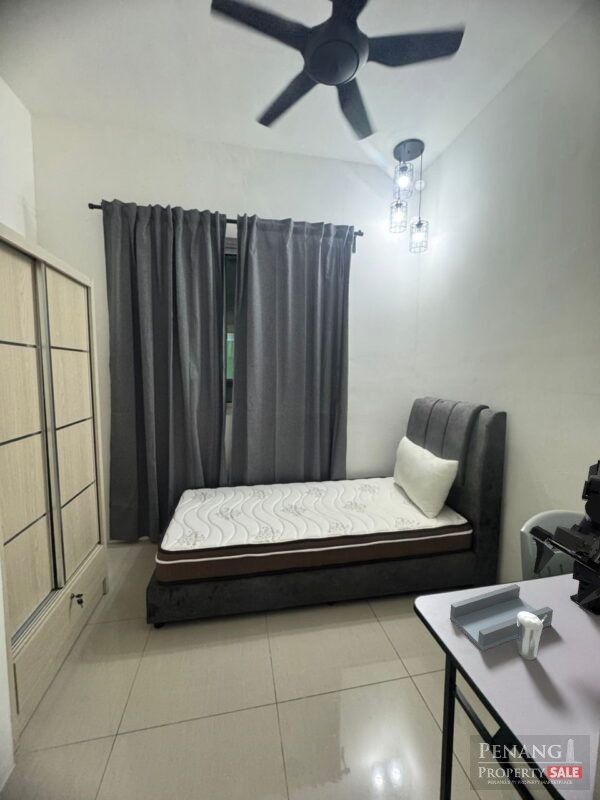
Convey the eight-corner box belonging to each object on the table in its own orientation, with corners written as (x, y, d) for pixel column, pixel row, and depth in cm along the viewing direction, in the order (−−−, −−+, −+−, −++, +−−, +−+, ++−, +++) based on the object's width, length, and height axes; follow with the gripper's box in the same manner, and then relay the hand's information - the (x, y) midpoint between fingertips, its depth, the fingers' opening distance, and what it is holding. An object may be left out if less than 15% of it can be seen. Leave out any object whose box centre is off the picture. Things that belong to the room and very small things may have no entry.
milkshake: (547, 666, 67) (552, 623, 66) (519, 661, 68) (523, 619, 67) (536, 647, 72) (541, 606, 70) (510, 642, 73) (514, 603, 72)
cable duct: (514, 597, 87) (515, 584, 86) (551, 624, 78) (552, 609, 77) (450, 618, 80) (451, 603, 79) (482, 650, 71) (483, 634, 70)
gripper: (536, 495, 78) (499, 547, 78) (634, 541, 61) (587, 609, 60) (557, 515, 82) (522, 565, 82) (654, 564, 65) (611, 627, 64)
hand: (555, 587), depth 72 cm, fingers open, 9 cm apart
